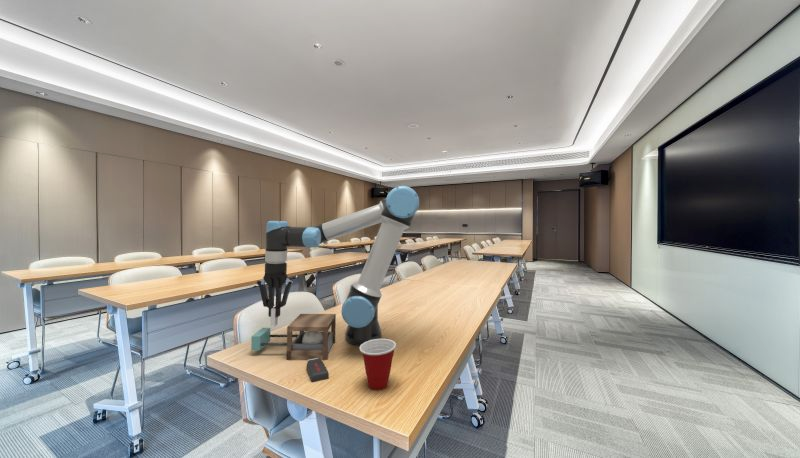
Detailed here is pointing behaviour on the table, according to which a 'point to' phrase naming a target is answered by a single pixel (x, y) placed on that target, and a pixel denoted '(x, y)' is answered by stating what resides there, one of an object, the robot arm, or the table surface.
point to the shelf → (311, 324)
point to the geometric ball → (312, 338)
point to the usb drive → (317, 370)
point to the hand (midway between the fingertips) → (274, 325)
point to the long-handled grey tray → (264, 336)
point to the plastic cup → (378, 361)
